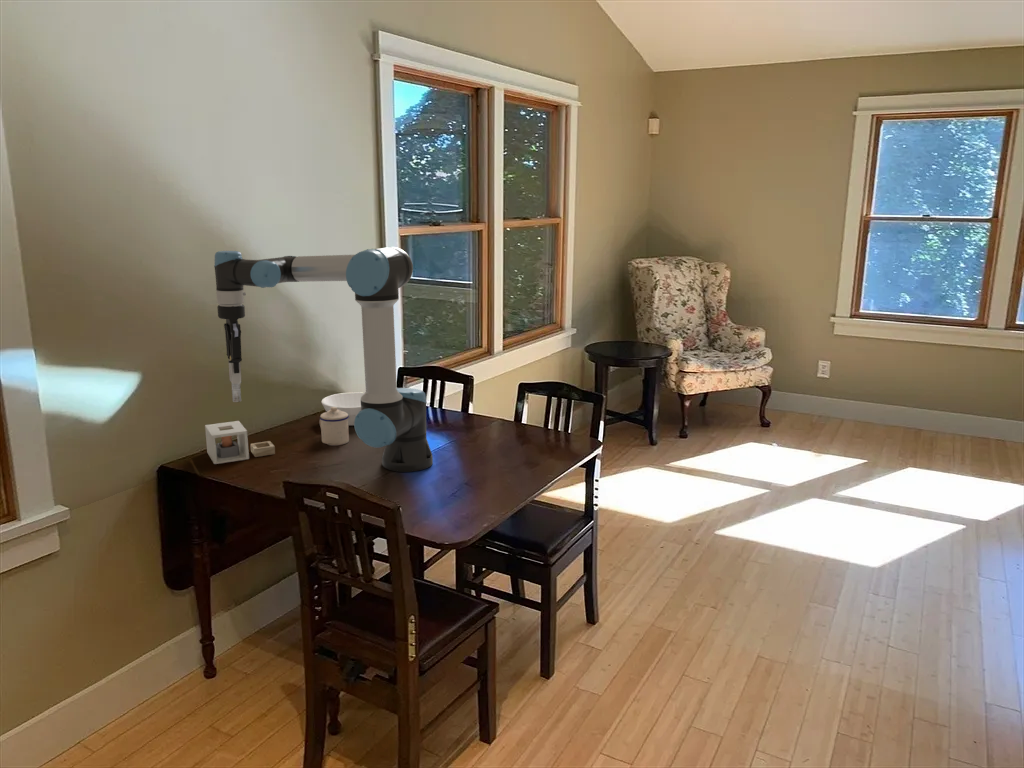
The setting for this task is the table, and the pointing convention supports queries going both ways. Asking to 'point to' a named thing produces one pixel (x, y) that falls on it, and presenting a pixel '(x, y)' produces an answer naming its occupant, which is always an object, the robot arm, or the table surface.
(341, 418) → the teacup with lid
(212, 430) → the white hollow frame cube
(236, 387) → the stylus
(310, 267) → the robot arm
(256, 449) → the stylus stand
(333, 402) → the bowl
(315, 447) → the table surface
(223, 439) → the button
